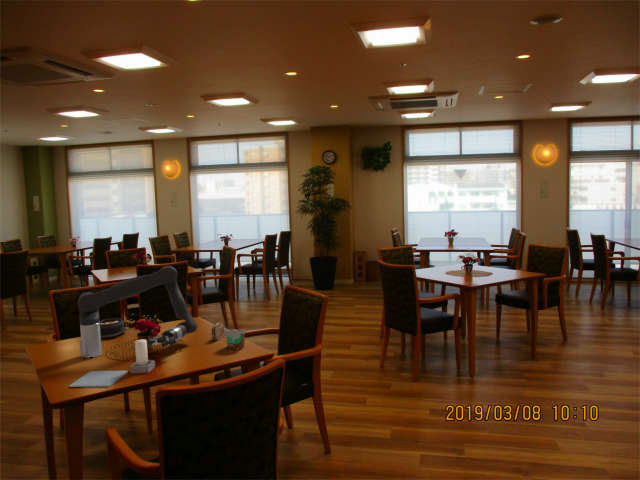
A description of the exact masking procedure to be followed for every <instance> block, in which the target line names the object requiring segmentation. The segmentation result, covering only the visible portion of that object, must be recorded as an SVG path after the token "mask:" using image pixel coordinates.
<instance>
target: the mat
mask: <svg viewBox="0 0 640 480" xmlns="http://www.w3.org/2000/svg"><path fill="white" fill-rule="evenodd" d="M128 372H129V371H128V370H96V371H95V370H90V371H89V372H87V373H86V374H84V375H83V376H81V377H80V378H78V379H77V380H75V381H74V382H73V383H70V385H68V388H69V387H84V388H110V387H111V386H112V385H113V384H114V385H115V383H116V382H118V381H119V380H120V379H121V378H123V377H124V376H125V375H126V374H128Z"/></svg>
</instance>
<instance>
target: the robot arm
mask: <svg viewBox="0 0 640 480" xmlns="http://www.w3.org/2000/svg"><path fill="white" fill-rule="evenodd" d="M177 278H178V271H177V269H176V268H175V267H173V266H171V265H165V266H163V267H162V268H161V269H159V270H156V271H154V272H152V273H149V274H144V275H139V276H135V277H131V278H128V279H124V280H122V281H120V282H117V283H116V284H113V285H112V286H110V287H108V288H105V289H104V290H100V291H97V292H92V291H87V292H83V293H82V294H81V295H80V296H79V298H78V301H77V306H78V312H79V326H80V339H79V349H80V358H84V357H85V358H84V359H91V358H90V357H93V358H97V357H100V356H101V355H103V349H102V338H101V334H100V322H99V321H100V310H99V308H101V307H104V306H105V305H107V304H111V303H114V302H118V301H120V300H121V301H122V300H124V299H128V298H131V297H134V296H136V295H139V294H141V293H143V292H146V291H149V290H150V289H153V288H155V287H158V286H163V285H164V287H165V288H166V291H167V293H168V296H169V298H170V302H171V305H172V307H173V310H174V314H175V316H176V318H177V319H179V320H184V321H182V322H179V323H177V325H175V326H173V327H171V328H169V329H167V330H165V331H163V332H162V333H161V335H159V336H155V335H154V336H152V337H150V338H148V339H146V340H147V348H149V347H150V346H152V345H161V348H165V347H167V346H170V345H171V346H173V345H175V344H176V343H178V342H179V340H180V339H183V338H184V337H185V336H186V335H188V334H192V333H195V332H196V331H197V328H198V324H197V322H196V320H195V318H194V317H193V315H192V314H191V312H190V311H189V309H188V306H187V304H186V301H185V299H184V297H183V295H182V292H181V290H180V287H179V285H178V280H177Z"/></svg>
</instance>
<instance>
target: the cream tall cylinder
mask: <svg viewBox="0 0 640 480" xmlns="http://www.w3.org/2000/svg"><path fill="white" fill-rule="evenodd" d="M147 342H148V340H147V339H136V340H135V341H134V346H135V348H134V349H135V362H136V363H137V366H147V365H148V360H149V356H148V347H147Z"/></svg>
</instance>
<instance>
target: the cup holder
mask: <svg viewBox="0 0 640 480" xmlns="http://www.w3.org/2000/svg"><path fill="white" fill-rule="evenodd" d="M154 368H156V361H155V360H153V359H151V360H149V359H148V365H147V366H137V363H136V361H135V362H133V363H132V364H131V365H130V366H129V373H131V374H147V373H150V372H151V371H152V370H153V369H154Z"/></svg>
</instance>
